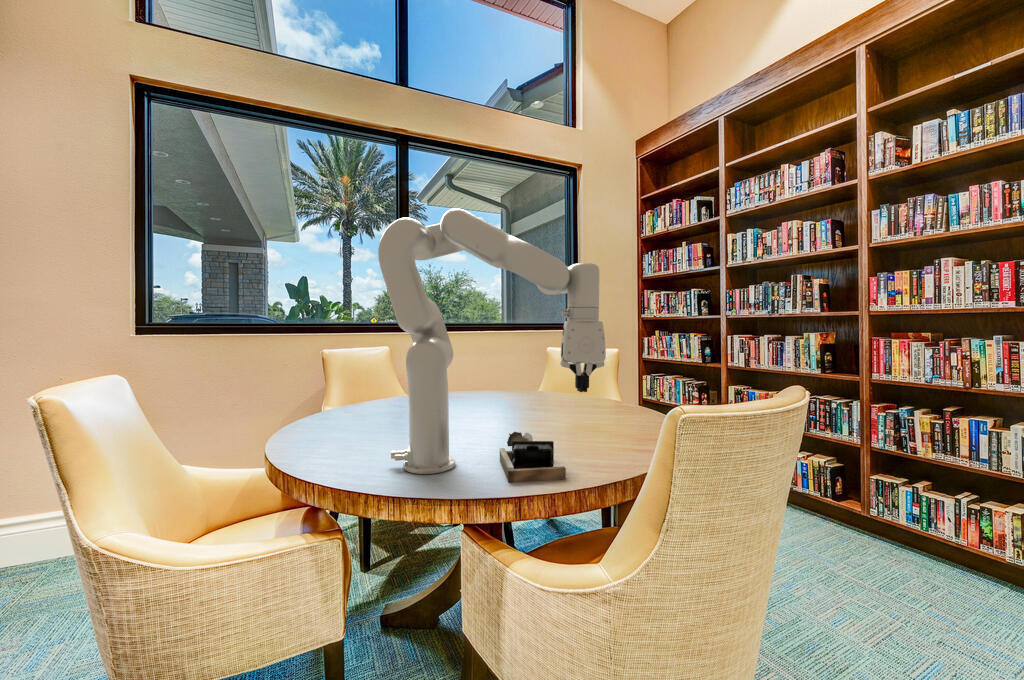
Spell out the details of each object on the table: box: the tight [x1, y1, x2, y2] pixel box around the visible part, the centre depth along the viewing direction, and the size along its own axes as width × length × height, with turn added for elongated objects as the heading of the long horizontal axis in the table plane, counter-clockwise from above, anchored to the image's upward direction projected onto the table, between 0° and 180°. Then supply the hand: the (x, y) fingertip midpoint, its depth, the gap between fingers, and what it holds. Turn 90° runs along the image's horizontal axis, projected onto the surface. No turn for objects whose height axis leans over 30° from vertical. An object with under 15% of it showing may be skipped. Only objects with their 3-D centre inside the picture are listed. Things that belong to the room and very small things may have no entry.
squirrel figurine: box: [506, 431, 534, 447], centre depth 118 cm, size 8×7×9 cm
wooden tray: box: [499, 447, 567, 483], centre depth 106 cm, size 13×15×3 cm
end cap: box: [511, 440, 555, 469], centre depth 106 cm, size 10×7×7 cm
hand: (582, 391), depth 107 cm, fingers closed
